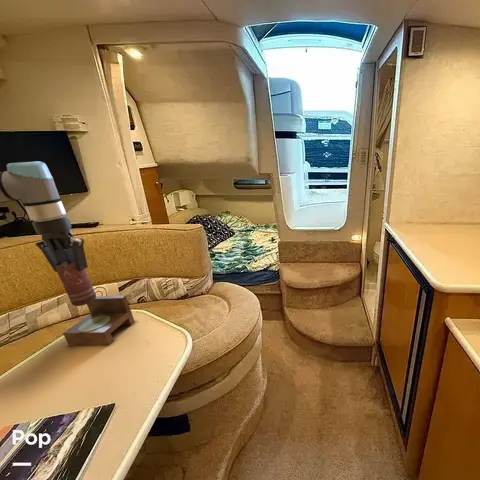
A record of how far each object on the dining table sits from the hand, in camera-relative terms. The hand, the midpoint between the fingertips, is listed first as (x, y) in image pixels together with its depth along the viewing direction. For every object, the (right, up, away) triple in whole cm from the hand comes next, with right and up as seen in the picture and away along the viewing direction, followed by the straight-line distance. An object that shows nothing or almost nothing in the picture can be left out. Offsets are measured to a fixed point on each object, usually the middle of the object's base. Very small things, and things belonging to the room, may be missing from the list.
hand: (80, 290), depth 84 cm
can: (+1, -4, +1) cm, 4 cm away
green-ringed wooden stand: (0, -17, +9) cm, 19 cm away
